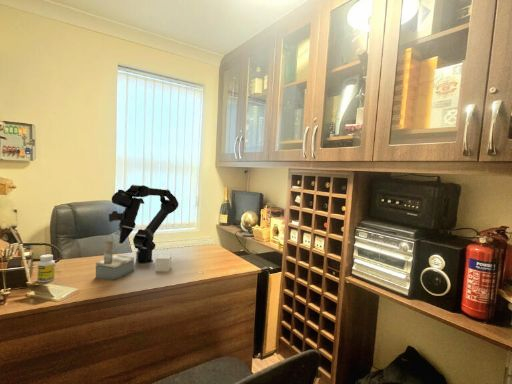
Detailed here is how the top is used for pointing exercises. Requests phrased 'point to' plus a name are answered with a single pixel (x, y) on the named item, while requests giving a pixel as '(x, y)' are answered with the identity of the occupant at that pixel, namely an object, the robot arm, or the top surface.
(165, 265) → the white cube
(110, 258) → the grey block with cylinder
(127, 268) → the storage box
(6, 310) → the top surface
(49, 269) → the supplement bottle
